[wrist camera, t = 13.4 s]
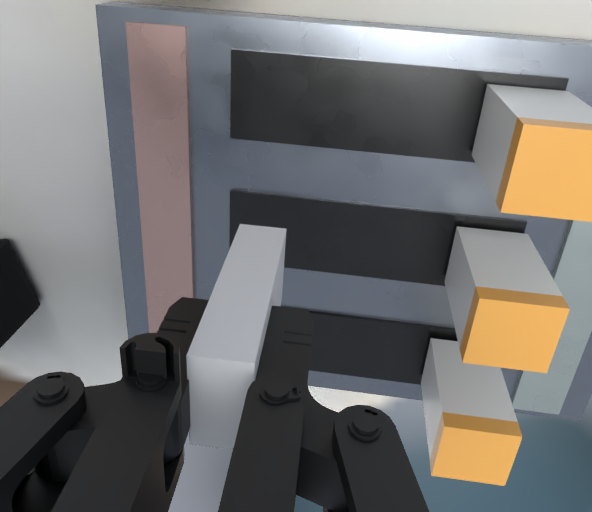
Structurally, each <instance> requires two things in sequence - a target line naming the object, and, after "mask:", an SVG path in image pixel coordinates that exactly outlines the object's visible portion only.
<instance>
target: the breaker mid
mask: <svg viewBox="0 0 592 512" xmlns="http://www.w3.org/2000/svg"><path fill="white" fill-rule="evenodd" d="M444 282H445V286H446V291H447V295H448V300H449V304H450V309H451V313H452V318H453V322H454V327H455V331H456V336H457V340H458V345H459V349H460V353H461V358H462V362H463V363H468V364H476V365H484V366H492V367H500V368H508V369H516V370H524V371H532V372H540V373H547V371H548V369H549V366H550V363H551V360H552V358H553V355H554V352H555V349H556V346H557V344H558V341H559V338H560V335H561V333H562V330H563V327H564V324H565V321H566V319H567V316H568V313H569V310H570V308H569V306H568V304H567V303H566V301H565V299H564V297H563V296H562V294H561V292H560V290H559V288H558V287H557V285H556V283H555V281H554V280H553V278H552V276H551V274H550V272H549V271H548V269H547V267H546V265H545V264H544V262H543V260H542V258H541V256H540V255H539V253H538V251H537V249H536V248H535V246H534V244H533V242H532V240H531V239H530V237H529V235H528V234H524V233H514V232H505V231H496V230H486V229H477V228H468V227H458V226H457V228H456V232H455V237H454V241H453V246H452V250H451V255H450V259H449V264H448V268H447V272H446V277H445V281H444Z"/></svg>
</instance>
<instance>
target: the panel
mask: <svg viewBox="0 0 592 512" xmlns="http://www.w3.org/2000/svg"><path fill="white" fill-rule="evenodd" d="M96 15H97V26H98V36H99V46H100V56H101V66H102V76H103V86H104V96H105V106H106V116H107V126H108V136H109V147H110V157H111V167H112V177H113V187H114V197H115V207H116V217H117V227H118V237H119V247H120V257H121V268H122V278H123V288H124V298H125V308H126V318H127V328H128V338H129V339H130V338H132V337H134V336H136V335H140V334H144V333H157V331H158V330H159V327H160V325H161V323H162V321H163V320H164V317H165V315H166V313H167V311H168V309H169V307H170V306H171V305H172V304H174V303H175V302H176V301H178V300H179V299H180V298H182V297H187V298H197V299H206V300H209V299H210V296H211V294H212V291H213V289H214V286H215V284H216V282H217V279H218V277H219V274H220V272H221V269H222V267H223V264H224V262H225V259H226V257H227V254H228V252H229V250H230V247H231V245H232V242H233V240H234V237H235V235H236V232H237V230H238V227H239V225H240V224H246V225H256V226H265V227H275V228H285V229H286V244H285V259H284V274H283V288H282V301H281V306H282V307H291V308H300V309H308V311H309V313H310V315H311V317H312V319H313V320H314V325H313V334H312V344H311V354H310V363H309V373H308V385H309V386H316V387H324V388H332V389H339V390H347V391H355V392H362V393H370V394H377V395H385V396H393V397H400V398H408V399H416V400H423V398H422V389H421V379H422V375H423V370H424V366H425V361H426V357H427V352H428V348H429V343H430V339H431V338H434V339H442V340H450V341H458V340H457V336H456V331H455V327H454V322H453V318H452V313H451V309H450V304H449V300H448V295H447V291H446V286H445V282H444V281H445V277H446V272H447V268H448V264H449V259H450V255H451V250H452V246H453V241H454V237H455V232H456V228H457V226H458V227H468V228H477V229H486V230H496V231H505V232H514V233H524V234H528V235H529V237H530V239H531V240H532V242H533V244H534V246H535V248H536V249H537V251H538V253H539V255H540V256H541V258H542V260H543V262H544V264H545V265H546V267H547V269H548V271H549V272H550V274H551V276H552V278H553V280H554V281H555V283H556V285H557V287H558V288H559V290H560V292H561V294H562V296H563V297H564V299H565V301H566V303H567V304H568V306H569V308H570V310H569V313H568V316H567V319H566V321H565V324H564V327H563V330H562V333H561V335H560V338H559V341H558V344H557V346H556V349H555V352H554V355H553V358H552V360H551V363H550V366H549V369H548V371H547V373H540V372H532V371H524V370H516V369H508V368H501V370H502V373H503V377H504V380H505V383H506V386H507V389H508V393H509V396H510V399H511V402H512V405H513V409H514V412H515V413H523V414H530V415H538V416H546V417H553V418H562V419H568V420H576V421H580V420H581V418H582V415H583V413H584V411H585V408H586V406H587V403H588V401H589V399H590V396H591V394H592V222H587V221H577V220H568V219H558V218H549V217H539V216H530V215H520V214H510V213H501V212H500V210H499V208H498V206H497V204H496V202H495V200H494V198H493V196H492V195H491V193H490V191H489V189H488V187H487V185H486V183H485V181H484V179H483V177H482V175H481V173H480V171H479V169H478V167H477V165H476V163H475V161H474V159H473V157H472V151H473V146H474V142H475V137H476V133H477V128H478V124H479V119H480V115H481V110H482V106H483V101H484V97H485V92H486V88H487V84H493V85H504V86H516V87H527V88H538V89H549V90H561V91H569V92H570V93H572V94H573V95H575V96H576V97H578V98H579V99H581V100H582V101H583V102H585V103H586V104H588V105H589V106H591V107H592V41H591V40H579V39H567V38H554V37H542V36H530V35H518V34H505V33H493V32H481V31H469V30H457V29H444V28H432V27H420V26H408V25H395V24H383V23H371V22H359V21H347V20H334V19H322V18H310V17H298V16H285V15H273V14H261V13H249V12H236V11H224V10H212V9H200V8H188V7H175V6H163V5H151V4H139V3H126V2H108V3H102V4H97V5H96Z"/></svg>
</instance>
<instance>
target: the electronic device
mask: <svg viewBox="0 0 592 512" xmlns="http://www.w3.org/2000/svg"><path fill="white" fill-rule="evenodd" d="M39 306H40V302H39V300H38V298H37V296H36V294H35V292H34V290H33V288H32V286H31V284H30V282H29V280H28V278H27V276H26V274H25V272H24V270H23V269H22V267H21V265H20V263H19V261H18V259H17V257H16V255H15V253H14V251H13V249H12V247H11V245H10V243H9V241H8V240H7V239H0V348H1V347H2V346H3V345H4V343H5V342H6V341H7V340H8V339H9V338H10V337H11V336H12V335H13V334H14V333H15V332H16V331H17V330H18V329H19V328H20V327H21V326H22V324H23V323H24V322H25V321H26V320H27V319H28V318H29V317H30V316H31V315H32V314H33V313H34V312H35V311H36V310H37V309H38V307H39Z"/></svg>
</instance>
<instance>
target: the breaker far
mask: <svg viewBox="0 0 592 512" xmlns="http://www.w3.org/2000/svg"><path fill="white" fill-rule="evenodd" d="M421 389H422V398H423V406H424V415H425V423H426V432H427V440H428V449H429V457H430V467H431V475H432V476H438V477H445V478H453V479H460V480H467V481H474V482H481V483H488V484H495V485H502V486H505V484H506V481H507V479H508V476H509V473H510V470H511V467H512V465H513V462H514V459H515V456H516V454H517V451H518V448H519V445H520V442H521V440H522V434H521V431H520V428H519V424H518V421H517V418H516V415H515V412H514V409H513V405H512V402H511V399H510V396H509V393H508V389H507V386H506V383H505V380H504V377H503V373H502V370H501V368H500V367H492V366H484V365H476V364H468V363H463V362H462V358H461V353H460V349H459V345H458V341H450V340H442V339H434V338H431V339H430V343H429V348H428V352H427V357H426V361H425V366H424V370H423V375H422V379H421Z"/></svg>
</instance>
